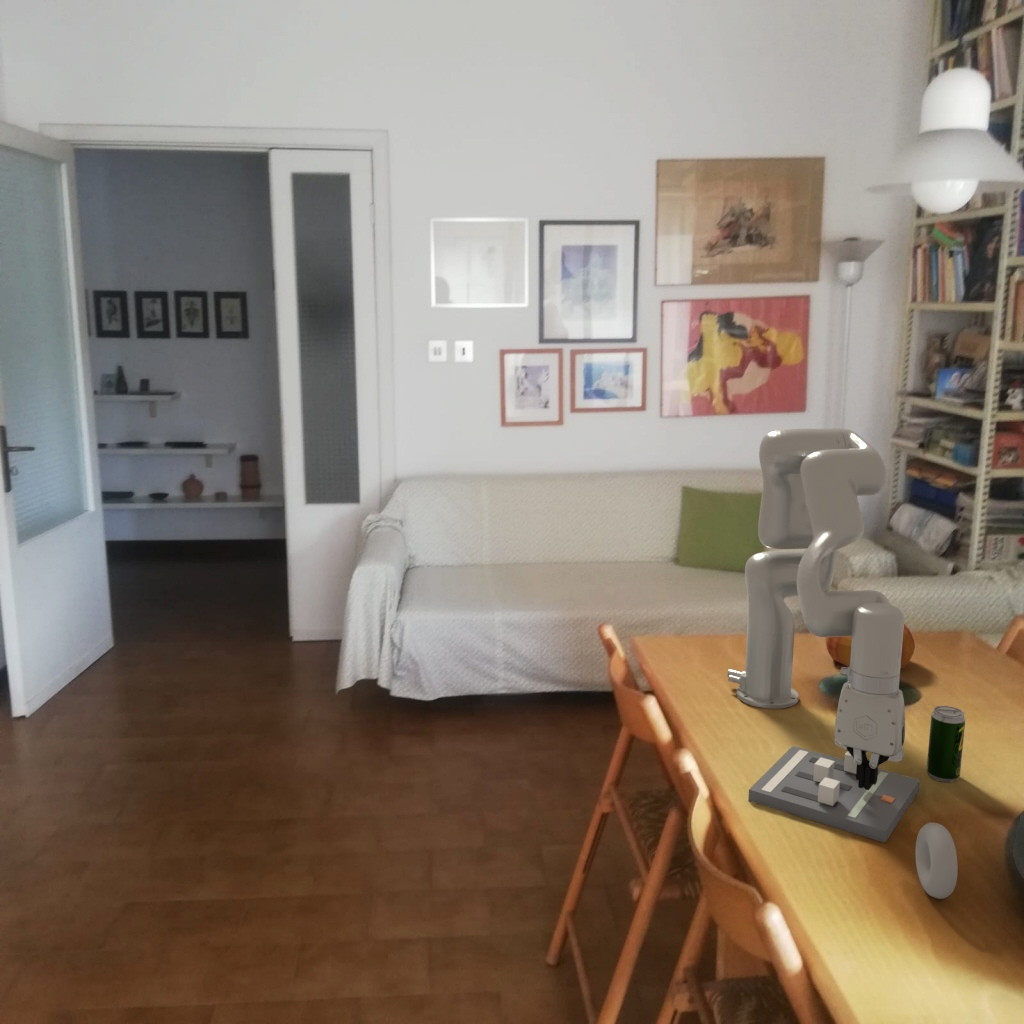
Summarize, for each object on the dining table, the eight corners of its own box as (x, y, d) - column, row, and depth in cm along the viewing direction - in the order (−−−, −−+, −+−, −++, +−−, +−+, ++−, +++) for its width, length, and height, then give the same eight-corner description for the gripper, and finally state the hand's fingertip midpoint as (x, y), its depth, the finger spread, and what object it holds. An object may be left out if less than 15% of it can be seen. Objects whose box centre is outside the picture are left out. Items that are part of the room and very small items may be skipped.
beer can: (927, 780, 164) (933, 715, 161) (924, 766, 169) (930, 703, 166) (961, 785, 162) (968, 719, 159) (957, 770, 167) (963, 707, 164)
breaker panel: (748, 800, 157) (749, 770, 156) (792, 755, 173) (793, 728, 172) (885, 842, 144) (887, 810, 143) (918, 790, 160) (921, 761, 159)
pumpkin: (820, 671, 214) (824, 608, 211) (827, 644, 231) (831, 585, 228) (913, 683, 206) (918, 618, 203) (912, 654, 224) (917, 593, 221)
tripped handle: (813, 780, 159) (814, 763, 158) (819, 773, 161) (820, 757, 161) (827, 784, 158) (828, 767, 157) (833, 777, 160) (834, 761, 159)
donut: (957, 915, 127) (964, 848, 125) (931, 913, 127) (937, 846, 125) (934, 872, 137) (940, 809, 135) (909, 871, 137) (915, 808, 135)
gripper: (819, 677, 153) (813, 781, 157) (916, 698, 144) (907, 808, 148) (834, 663, 159) (828, 764, 162) (929, 683, 150) (919, 789, 154)
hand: (866, 785), depth 155 cm, fingers closed
